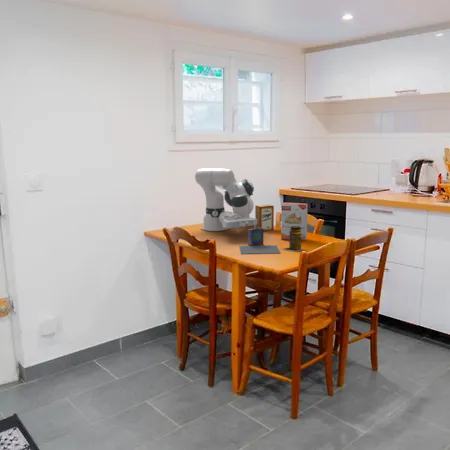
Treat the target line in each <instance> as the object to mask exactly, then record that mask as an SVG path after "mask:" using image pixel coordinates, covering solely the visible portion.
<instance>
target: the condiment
mask: <svg viewBox="0 0 450 450" xmlns="http://www.w3.org/2000/svg"><path fill="white" fill-rule="evenodd" d="M283 250H285V251H289V252H297V251H298V252H299V251H303V250H305V249H304V248H302V241H301V227H299V226H291V229H290V240H289V247H285V248H283Z"/></svg>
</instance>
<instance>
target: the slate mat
mask: <svg viewBox="0 0 450 450" xmlns="http://www.w3.org/2000/svg"><path fill="white" fill-rule="evenodd" d="M239 251H240V254H241V255H261V254H262V255H266V254H269V255H271V254H273V255H275V254H278V255H279V254H282V253H281V251H280V249H279V247H278V246H277V244H276V245H275V244H273V245H271V244H270V245H269V244H268V245H253V246H251V245H250V246H249V245H239Z"/></svg>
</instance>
